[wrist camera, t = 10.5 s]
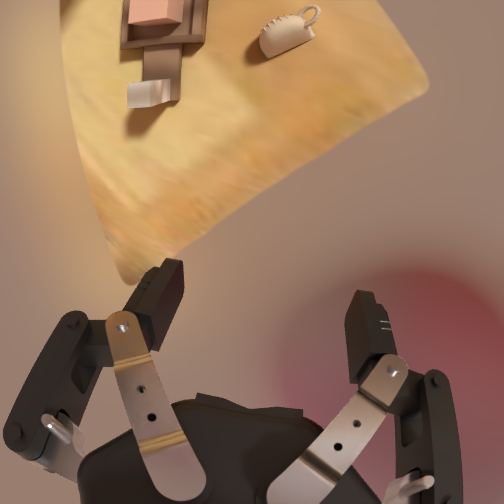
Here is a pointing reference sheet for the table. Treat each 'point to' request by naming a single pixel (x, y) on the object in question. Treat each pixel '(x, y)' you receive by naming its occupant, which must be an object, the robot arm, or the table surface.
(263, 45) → the decorative ornament
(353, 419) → the robot arm
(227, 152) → the table surface
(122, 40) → the tray
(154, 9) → the terracotta cube
